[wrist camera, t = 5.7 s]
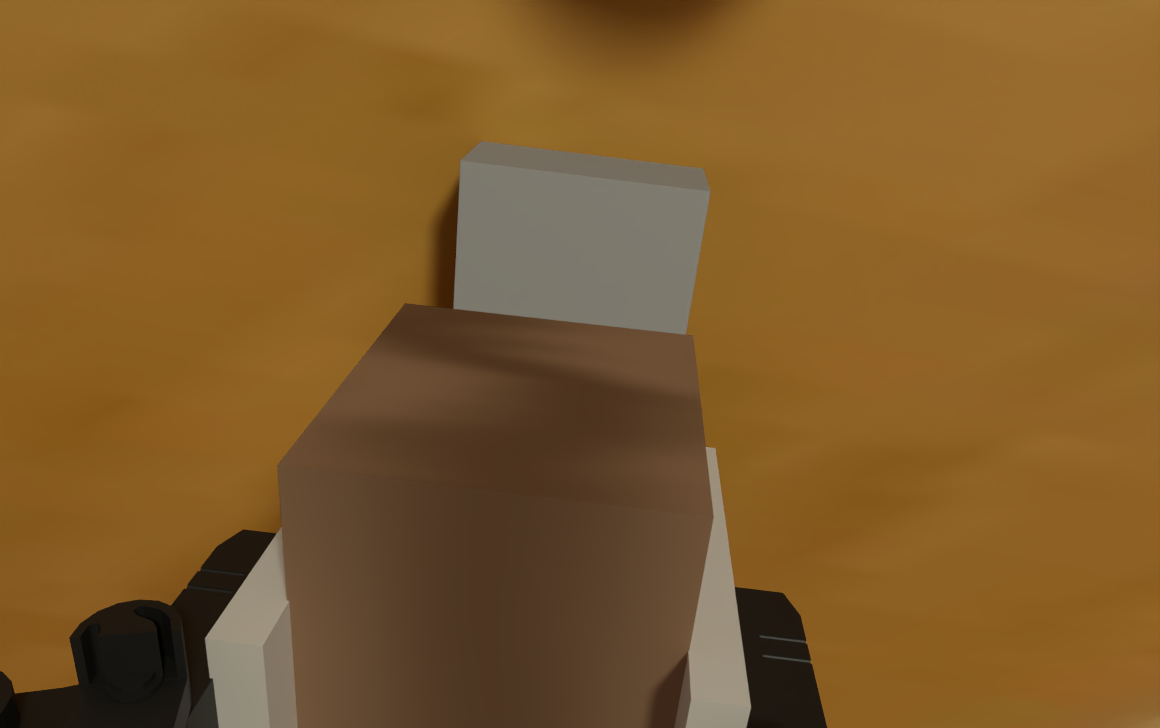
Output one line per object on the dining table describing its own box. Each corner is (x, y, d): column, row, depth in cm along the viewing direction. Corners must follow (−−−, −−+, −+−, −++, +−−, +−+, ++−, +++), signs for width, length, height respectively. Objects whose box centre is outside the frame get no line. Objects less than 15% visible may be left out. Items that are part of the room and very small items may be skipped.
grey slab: (468, 392, 30) (446, 440, 27) (482, 139, 27) (460, 160, 24) (660, 417, 30) (662, 468, 27) (702, 166, 27) (710, 191, 23)
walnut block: (404, 595, 19) (303, 840, 13) (405, 303, 16) (277, 464, 11) (648, 625, 19) (645, 887, 13) (693, 335, 16) (713, 517, 10)
